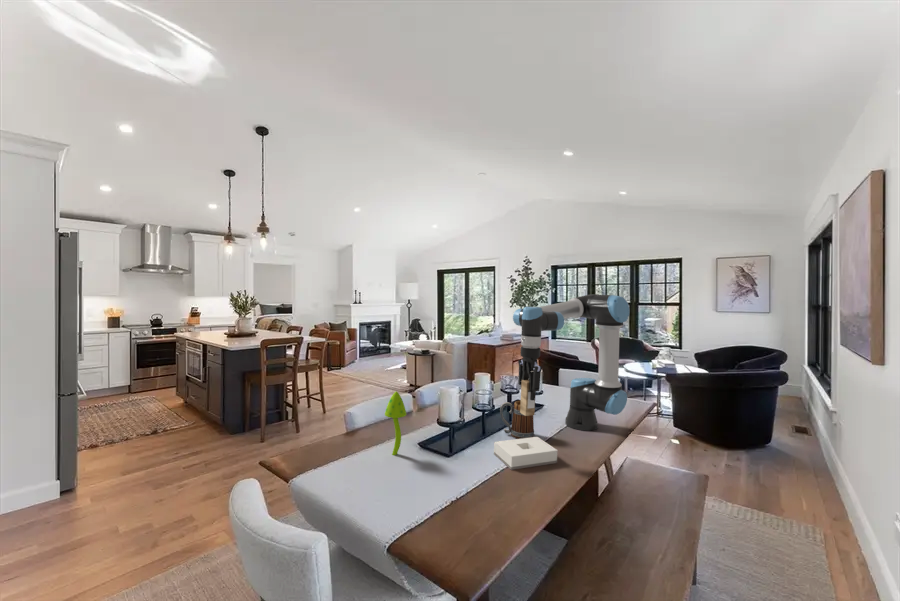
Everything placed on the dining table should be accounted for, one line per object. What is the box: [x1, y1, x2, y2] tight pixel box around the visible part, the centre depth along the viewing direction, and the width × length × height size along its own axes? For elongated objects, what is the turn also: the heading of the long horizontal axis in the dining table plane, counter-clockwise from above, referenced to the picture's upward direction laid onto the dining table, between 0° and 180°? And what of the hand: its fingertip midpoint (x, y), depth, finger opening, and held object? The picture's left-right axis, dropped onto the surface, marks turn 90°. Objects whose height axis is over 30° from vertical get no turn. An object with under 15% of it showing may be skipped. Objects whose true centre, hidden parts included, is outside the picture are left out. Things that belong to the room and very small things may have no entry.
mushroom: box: [384, 391, 407, 456], centre depth 159 cm, size 8×8×25 cm
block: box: [493, 436, 558, 471], centre depth 160 cm, size 20×14×5 cm
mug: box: [499, 400, 535, 439], centre depth 183 cm, size 16×11×15 cm
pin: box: [520, 380, 536, 416], centre depth 159 cm, size 4×4×13 cm
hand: (527, 406), depth 159 cm, fingers closed on pin, 4 cm apart
